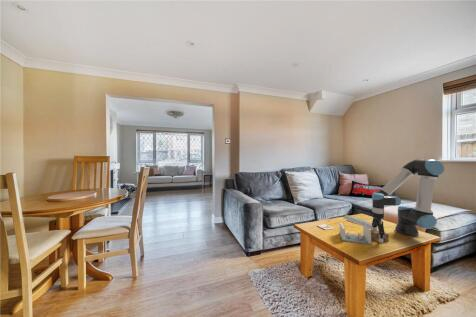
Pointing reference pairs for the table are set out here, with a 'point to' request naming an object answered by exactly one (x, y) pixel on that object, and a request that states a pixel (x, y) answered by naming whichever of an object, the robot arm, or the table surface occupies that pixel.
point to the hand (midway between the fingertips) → (377, 238)
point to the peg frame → (356, 236)
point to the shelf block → (376, 236)
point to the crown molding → (359, 221)
